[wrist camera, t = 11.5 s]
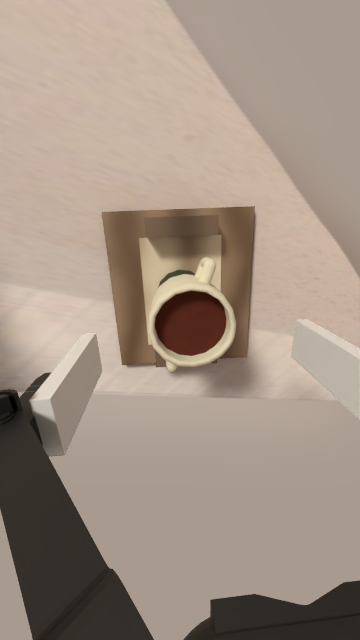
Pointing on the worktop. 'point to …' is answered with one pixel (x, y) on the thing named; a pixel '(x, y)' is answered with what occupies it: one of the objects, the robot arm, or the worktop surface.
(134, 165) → the worktop surface
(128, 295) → the seating jig
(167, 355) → the character mug
